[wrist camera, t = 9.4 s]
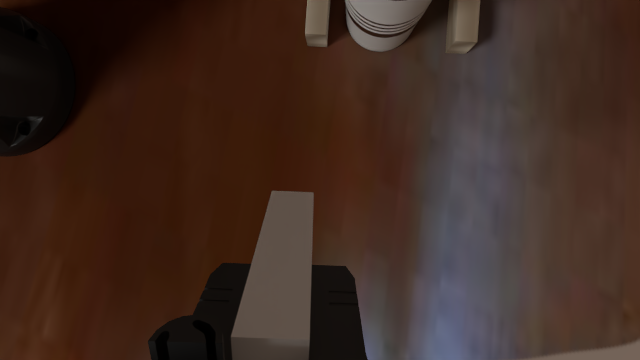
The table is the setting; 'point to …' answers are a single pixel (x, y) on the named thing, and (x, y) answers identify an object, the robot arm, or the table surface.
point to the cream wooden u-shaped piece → (458, 27)
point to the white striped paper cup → (383, 21)
